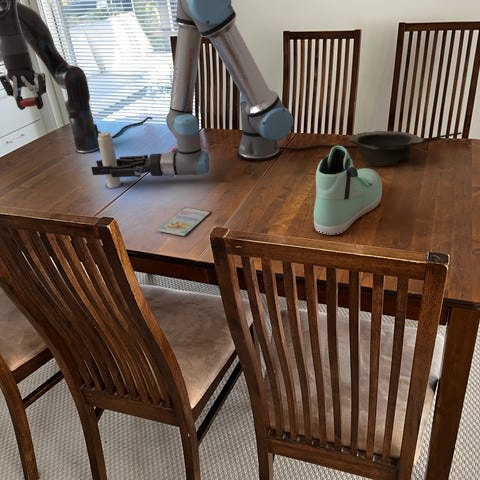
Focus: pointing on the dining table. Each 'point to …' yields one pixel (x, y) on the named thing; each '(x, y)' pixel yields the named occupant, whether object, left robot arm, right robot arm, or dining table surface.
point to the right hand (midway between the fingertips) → (95, 167)
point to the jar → (108, 157)
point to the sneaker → (343, 192)
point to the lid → (28, 102)
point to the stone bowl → (384, 146)
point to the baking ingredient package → (183, 221)
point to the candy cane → (174, 150)
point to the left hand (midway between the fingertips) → (31, 108)
